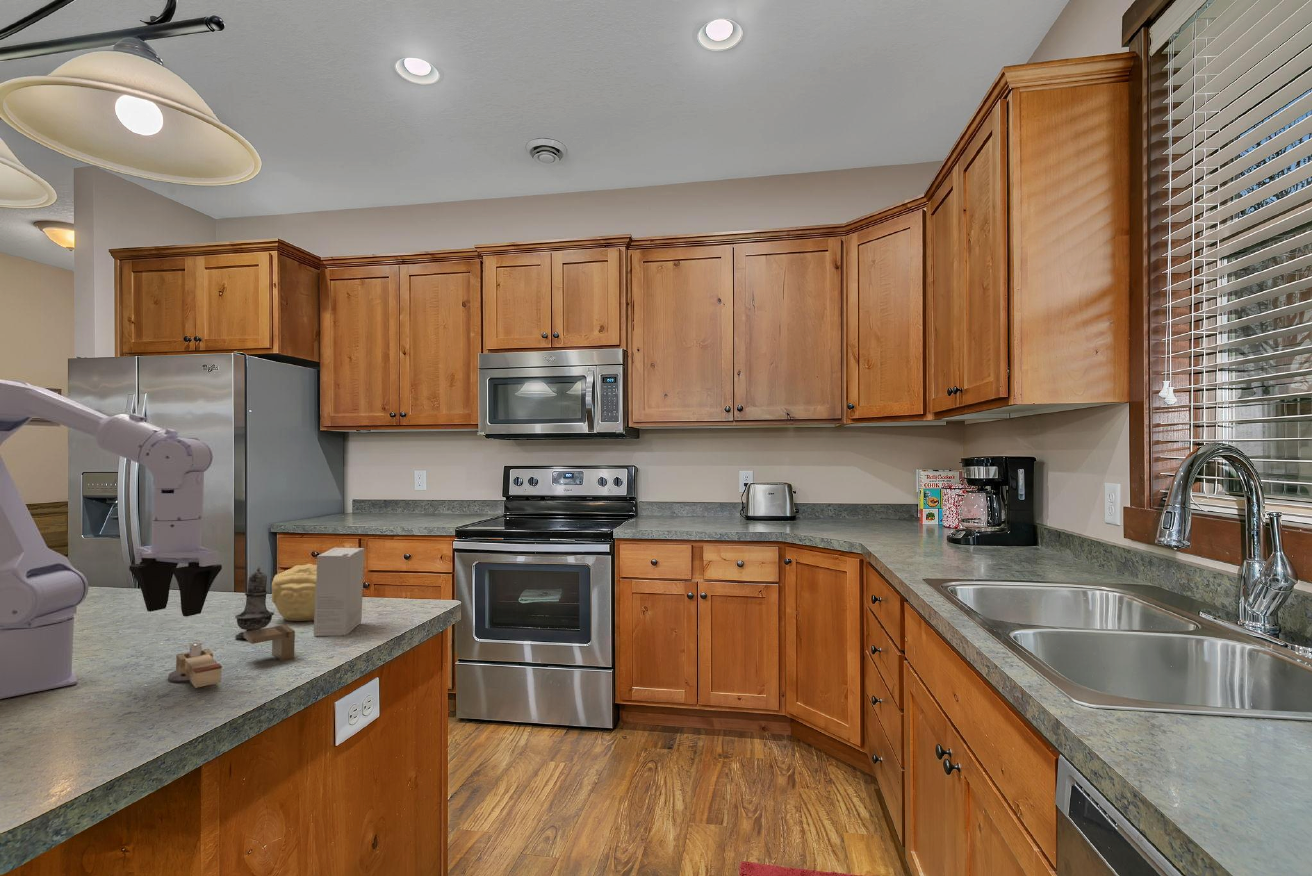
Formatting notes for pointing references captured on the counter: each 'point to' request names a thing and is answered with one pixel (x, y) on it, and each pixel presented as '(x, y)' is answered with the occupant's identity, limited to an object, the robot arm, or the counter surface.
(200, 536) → the robot arm
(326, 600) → the skincare box
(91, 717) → the counter surface
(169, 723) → the counter surface
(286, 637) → the keeper
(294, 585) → the sculpture
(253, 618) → the dark grey tall piece
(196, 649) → the pintle base
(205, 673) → the link
